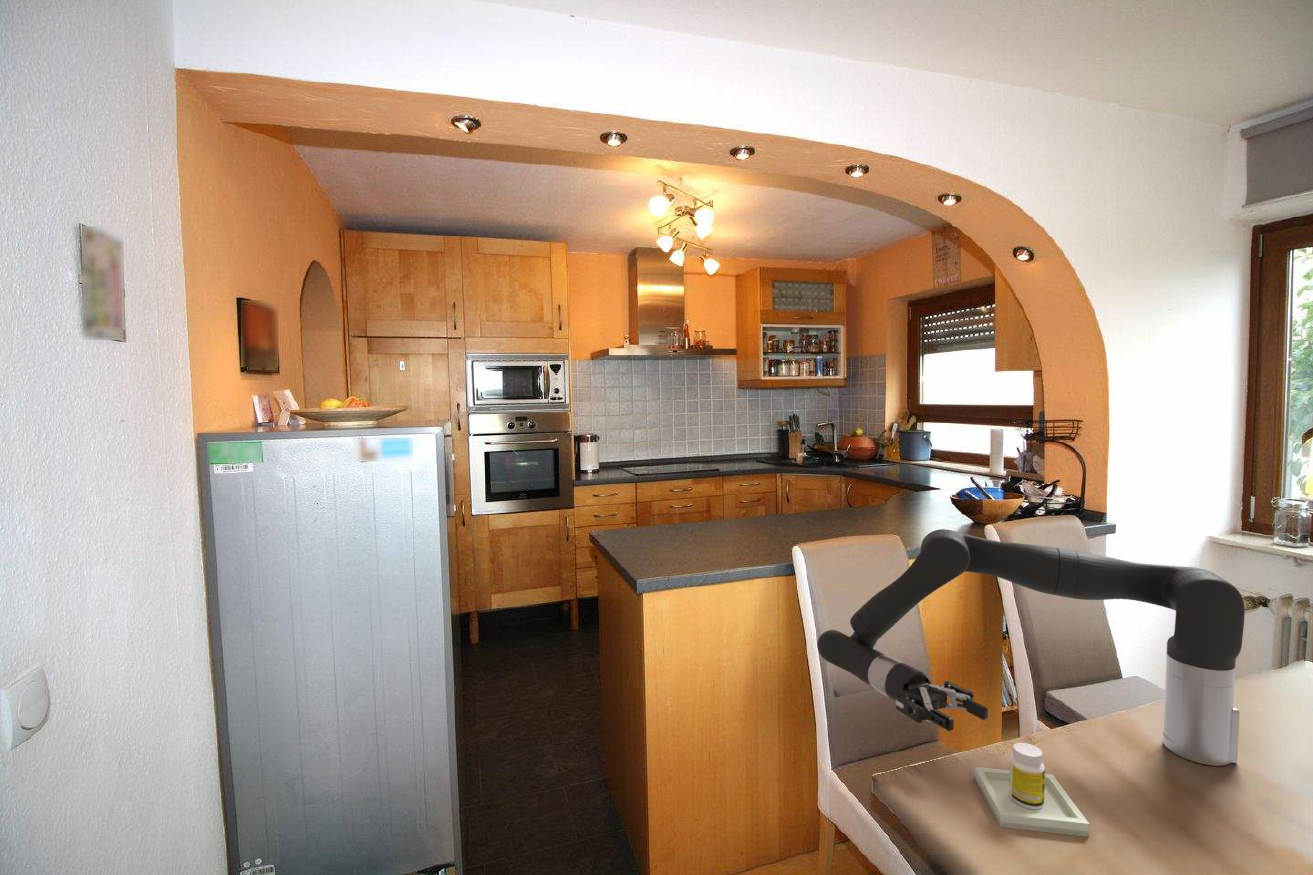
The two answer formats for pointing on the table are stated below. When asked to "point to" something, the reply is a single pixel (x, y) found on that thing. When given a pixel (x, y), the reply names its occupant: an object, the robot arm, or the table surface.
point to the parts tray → (1050, 818)
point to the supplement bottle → (1027, 776)
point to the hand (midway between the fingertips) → (969, 719)
